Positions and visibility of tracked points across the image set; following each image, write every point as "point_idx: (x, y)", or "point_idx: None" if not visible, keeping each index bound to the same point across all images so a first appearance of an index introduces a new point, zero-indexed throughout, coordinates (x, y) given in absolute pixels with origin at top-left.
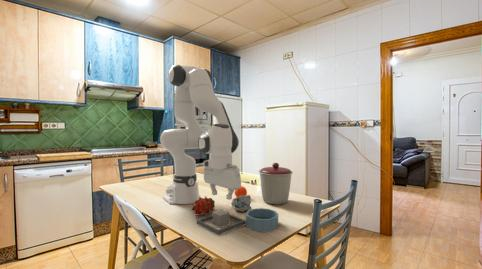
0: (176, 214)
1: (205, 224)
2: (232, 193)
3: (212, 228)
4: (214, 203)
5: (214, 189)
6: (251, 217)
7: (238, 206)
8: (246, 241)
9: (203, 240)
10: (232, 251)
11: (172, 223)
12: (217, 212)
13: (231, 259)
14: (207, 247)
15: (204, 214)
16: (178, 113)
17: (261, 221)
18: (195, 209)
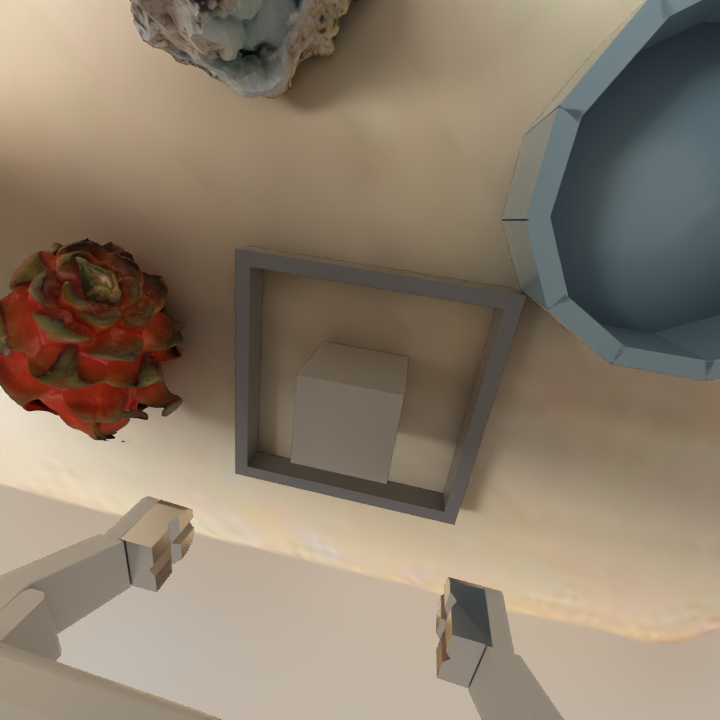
0: (57, 423)
1: (328, 494)
2: (536, 687)
3: (398, 509)
4: (113, 276)
5: (110, 567)
6: (656, 363)
7: (259, 42)
8: (653, 493)
9: (428, 571)
10: (625, 593)
11: None
12: (322, 447)
13: (656, 637)
14: None
15: (171, 354)
16: None
17: None
18: (122, 425)
